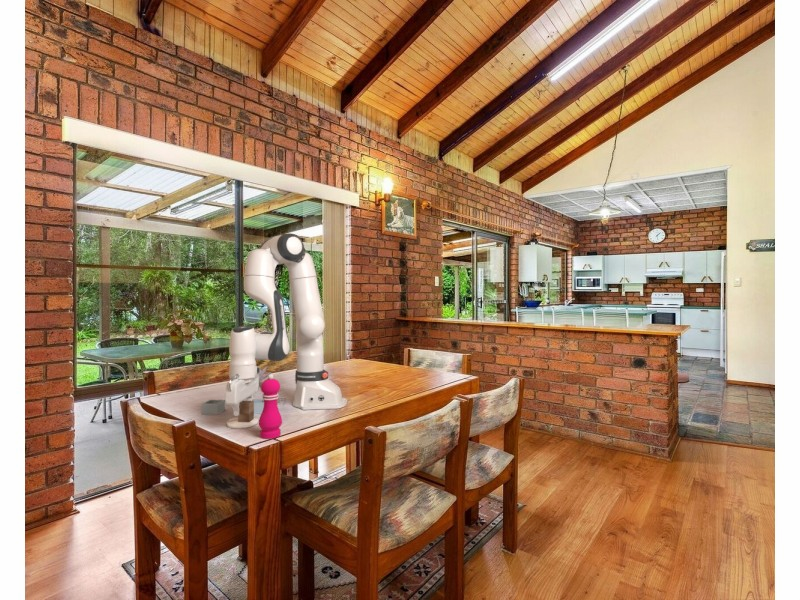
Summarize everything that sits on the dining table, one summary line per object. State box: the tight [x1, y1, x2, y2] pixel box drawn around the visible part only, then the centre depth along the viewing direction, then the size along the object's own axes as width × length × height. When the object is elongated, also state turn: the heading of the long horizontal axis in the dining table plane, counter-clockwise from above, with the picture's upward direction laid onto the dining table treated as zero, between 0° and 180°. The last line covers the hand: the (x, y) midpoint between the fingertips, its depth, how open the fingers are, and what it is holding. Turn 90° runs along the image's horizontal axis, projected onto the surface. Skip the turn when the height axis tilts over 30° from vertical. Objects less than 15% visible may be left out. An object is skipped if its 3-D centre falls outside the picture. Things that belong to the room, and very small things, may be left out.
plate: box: [226, 416, 259, 430], centre depth 144 cm, size 10×10×1 cm
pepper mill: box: [258, 373, 283, 440], centre depth 132 cm, size 7×7×20 cm
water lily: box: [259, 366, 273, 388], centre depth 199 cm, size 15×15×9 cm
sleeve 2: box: [252, 398, 264, 415], centre depth 160 cm, size 6×6×4 cm
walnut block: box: [237, 400, 255, 422], centre depth 144 cm, size 4×4×6 cm
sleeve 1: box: [200, 399, 226, 416], centre depth 159 cm, size 6×6×4 cm
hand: (242, 411), depth 144 cm, fingers open, 8 cm apart
